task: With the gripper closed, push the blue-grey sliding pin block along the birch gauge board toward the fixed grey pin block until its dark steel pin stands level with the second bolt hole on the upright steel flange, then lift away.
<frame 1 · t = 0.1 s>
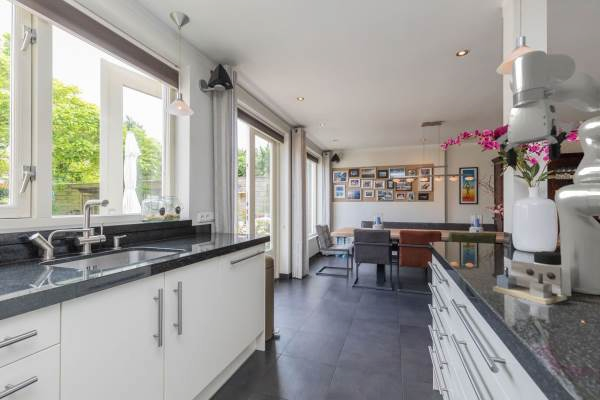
hand: (532, 163, 75), 37 cm above the countertop, tool pointing down, fingers open, 9 cm apart
gauge board: (528, 294, 78), on the countertop
sliding pin: (506, 277, 82), point 4 cm above the countertop, slide at -3.5 cm
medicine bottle: (548, 293, 81), on the countertop, touching gauge board
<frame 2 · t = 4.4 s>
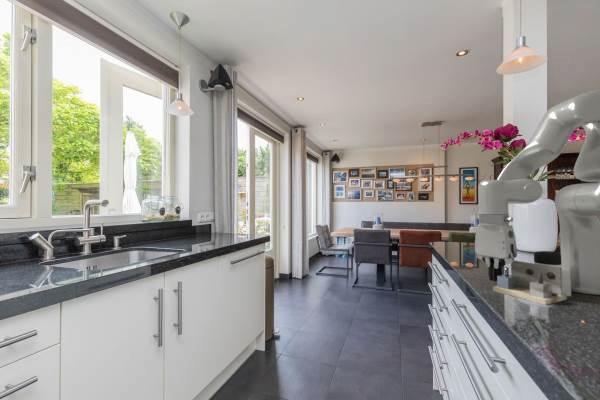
hand: (495, 280, 85), 2 cm above the countertop, tool pointing down, fingers closed
sliding pin: (506, 277, 82), point 4 cm above the countertop, slide at -3.4 cm, touching gripper
everything else where it was.
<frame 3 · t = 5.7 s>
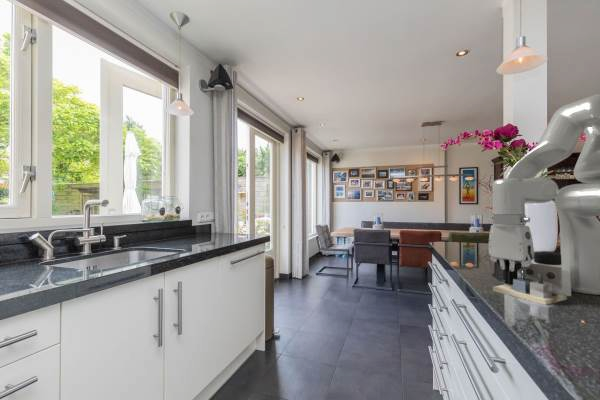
hand: (510, 283, 81), 2 cm above the countertop, tool pointing down, fingers closed
sliding pin: (523, 280, 78), point 4 cm above the countertop, slide at 0.9 cm, touching gripper
everything else where it was.
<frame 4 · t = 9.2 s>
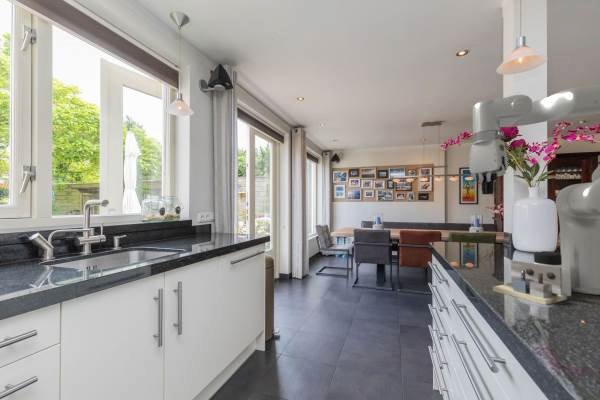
hand: (487, 194, 92), 29 cm above the countertop, tool pointing down, fingers closed
sliding pin: (523, 280, 78), point 4 cm above the countertop, slide at 0.9 cm
everything else where it was.
at the end: sliding pin slide at 0.9 cm; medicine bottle moved 0.6 cm from its start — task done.
